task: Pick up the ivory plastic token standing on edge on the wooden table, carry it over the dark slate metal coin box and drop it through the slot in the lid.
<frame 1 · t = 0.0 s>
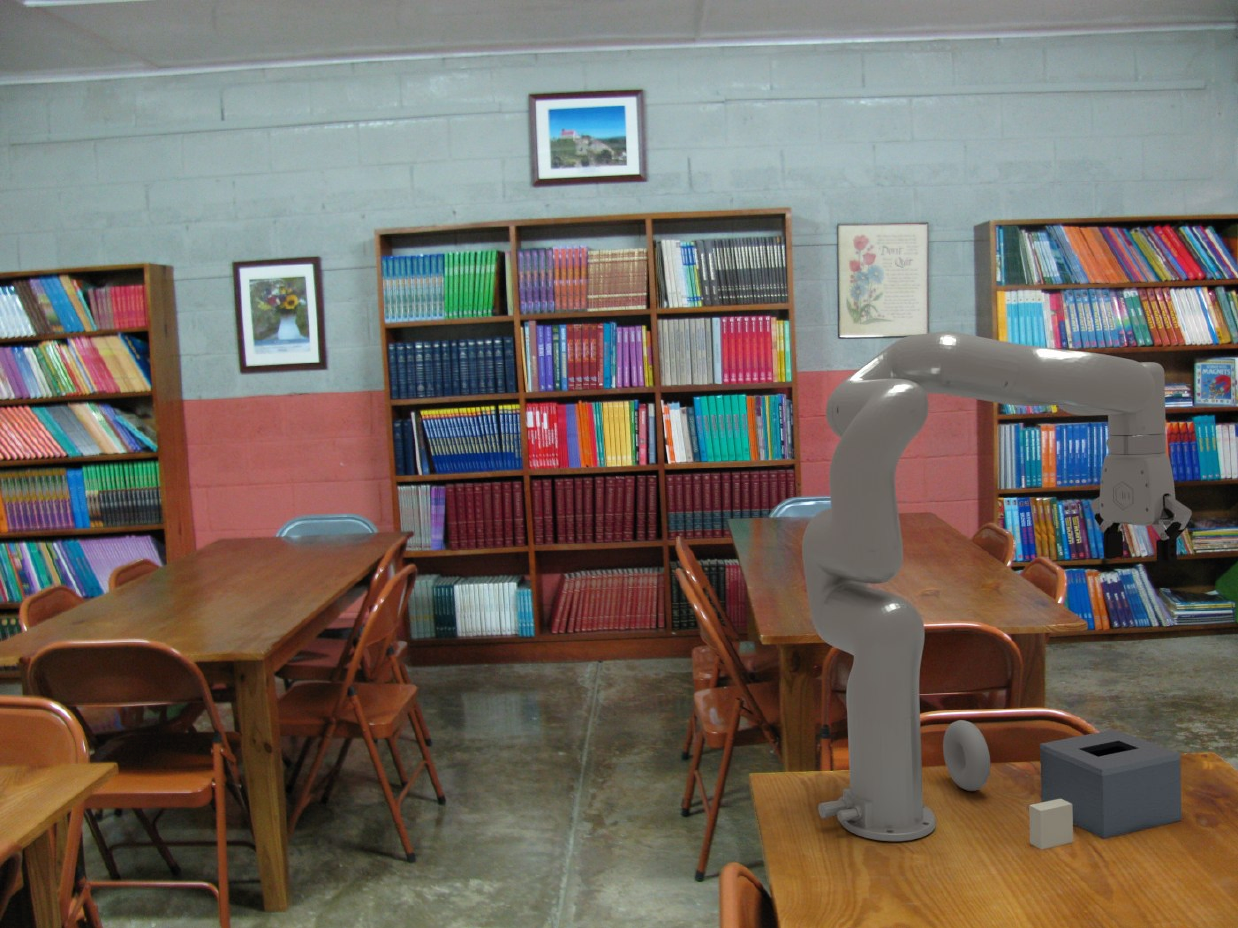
hand: (1139, 561, 150), 31 cm above the table, tool pointing down, fingers open, 9 cm apart
coin box: (1110, 813, 136), on the table
token: (1051, 842, 129), on the table
donut: (967, 790, 148), on the table
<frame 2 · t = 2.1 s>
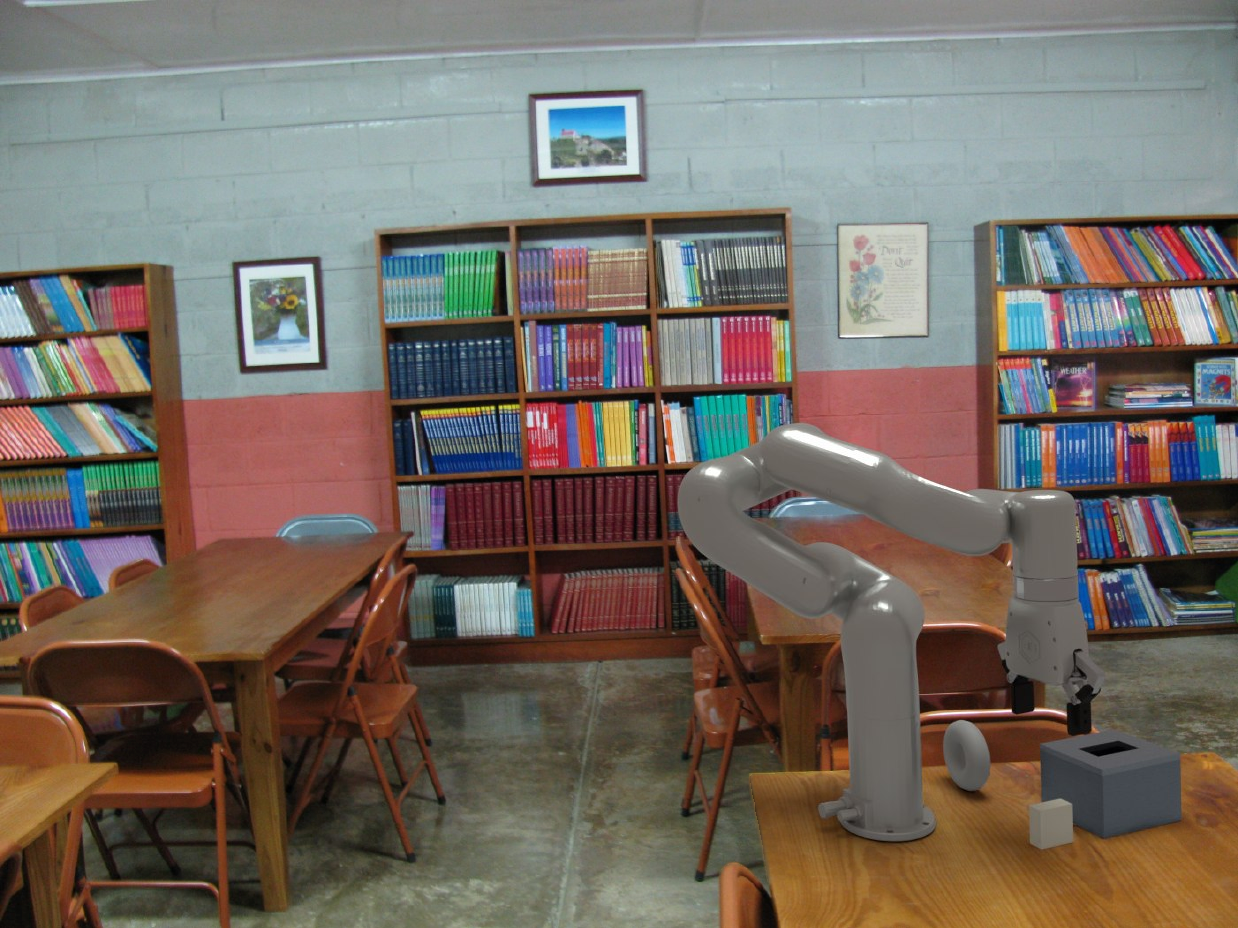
hand: (1050, 722, 128), 16 cm above the table, tool pointing down, fingers open, 9 cm apart
nothing on the table moved.
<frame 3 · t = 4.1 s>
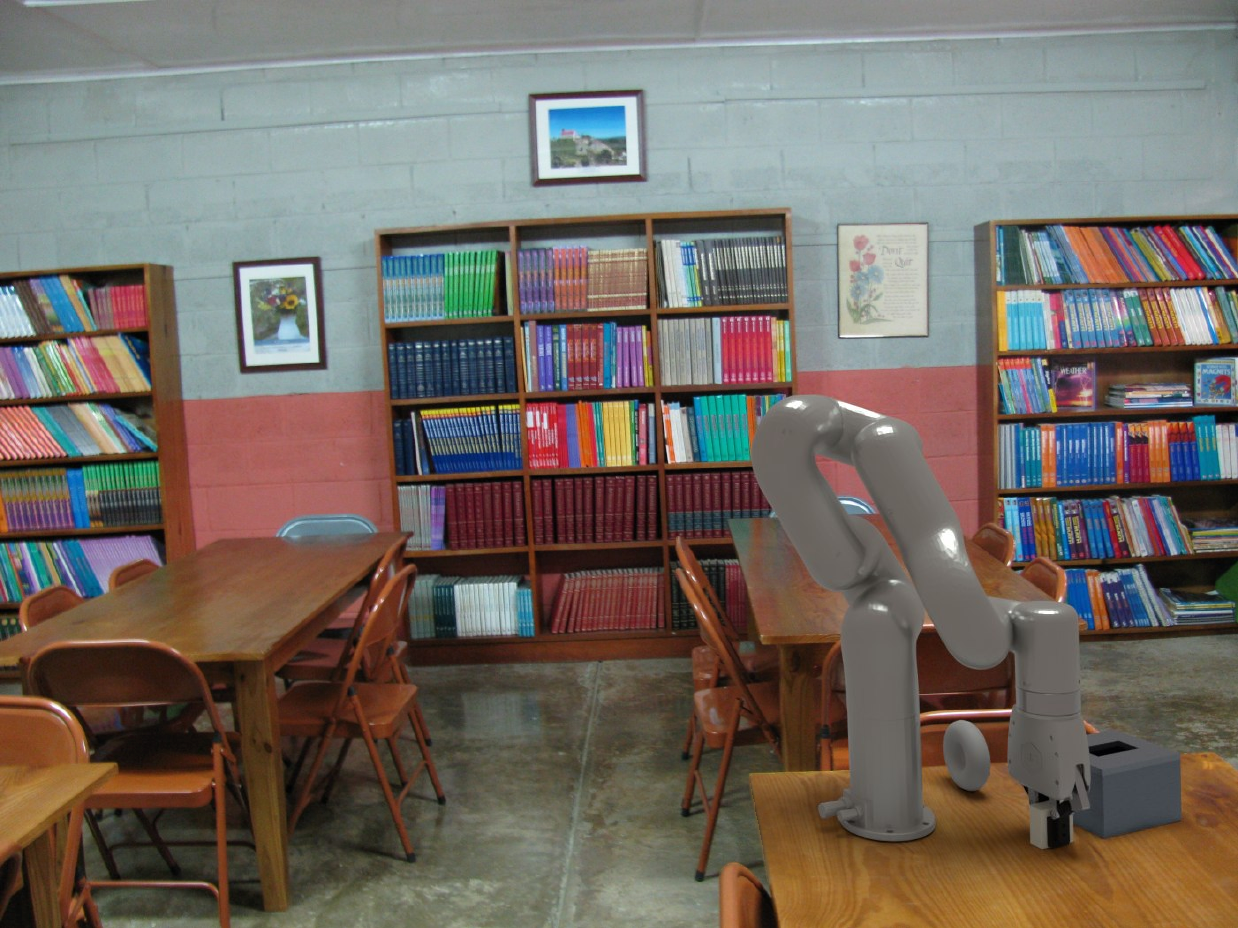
hand: (1051, 841, 129), 0 cm above the table, tool pointing down, fingers closed on token
token: (1051, 842, 129), on the table, touching gripper
everything else where it was.
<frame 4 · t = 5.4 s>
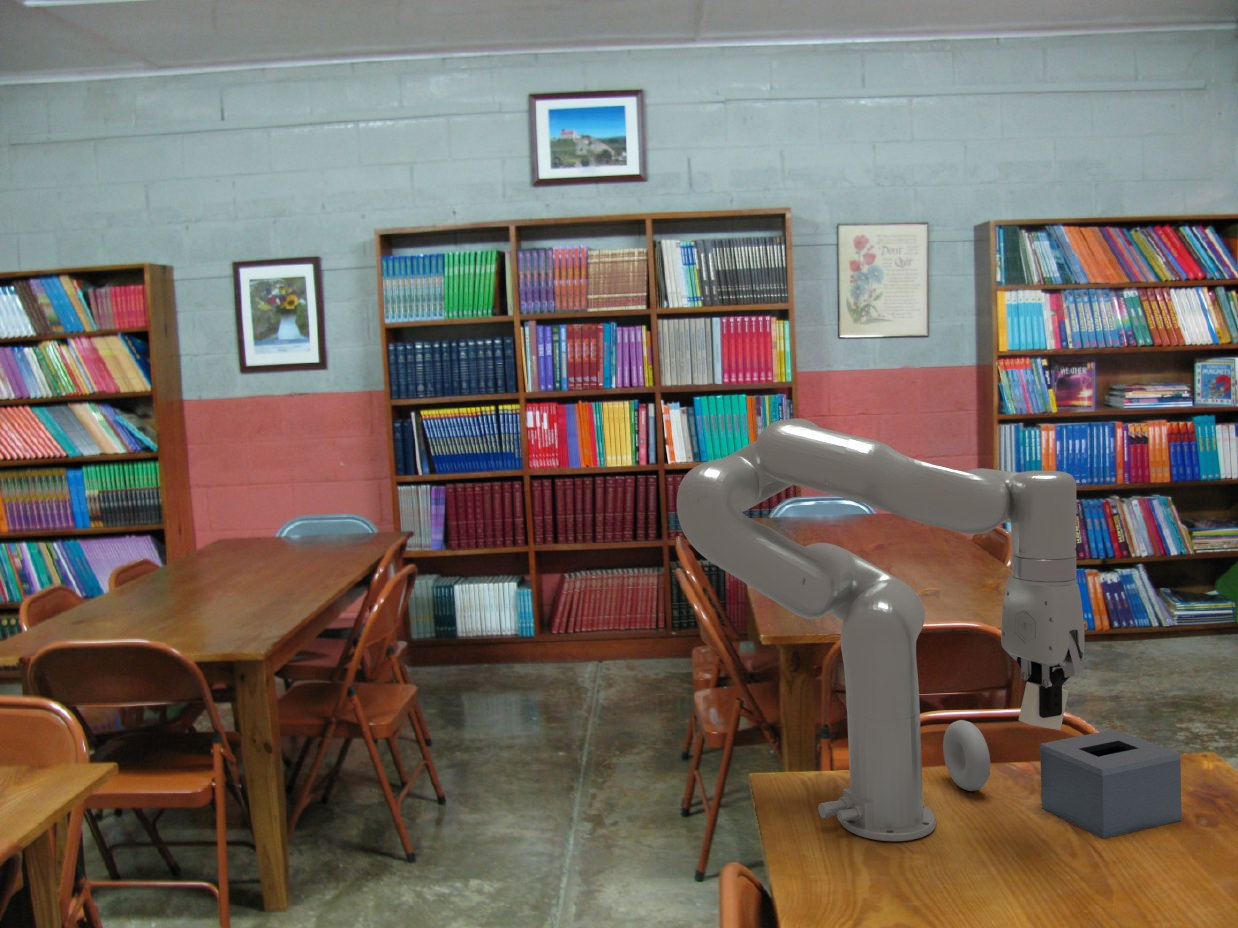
hand: (1043, 712, 128), 17 cm above the table, tool pointing down, fingers closed on token, 1 cm apart
token: (1039, 725, 128), point 15 cm above the table, tilted 17°, touching gripper
everything else where it was.
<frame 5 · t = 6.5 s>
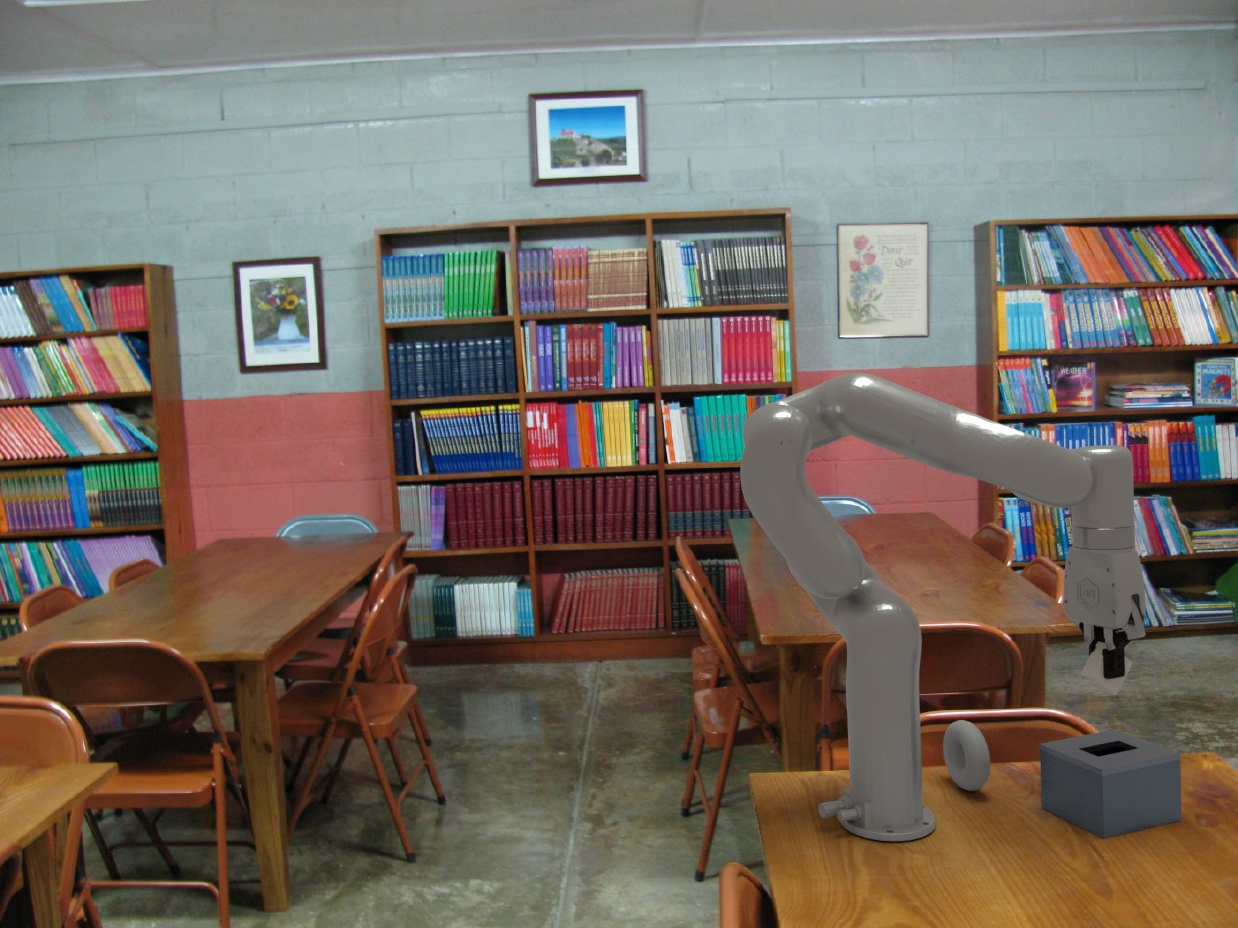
hand: (1107, 674, 135), 19 cm above the table, tool pointing down, fingers closed on token, 1 cm apart
token: (1098, 684, 135), point 18 cm above the table, tilted 37°, touching gripper
everything else where it was.
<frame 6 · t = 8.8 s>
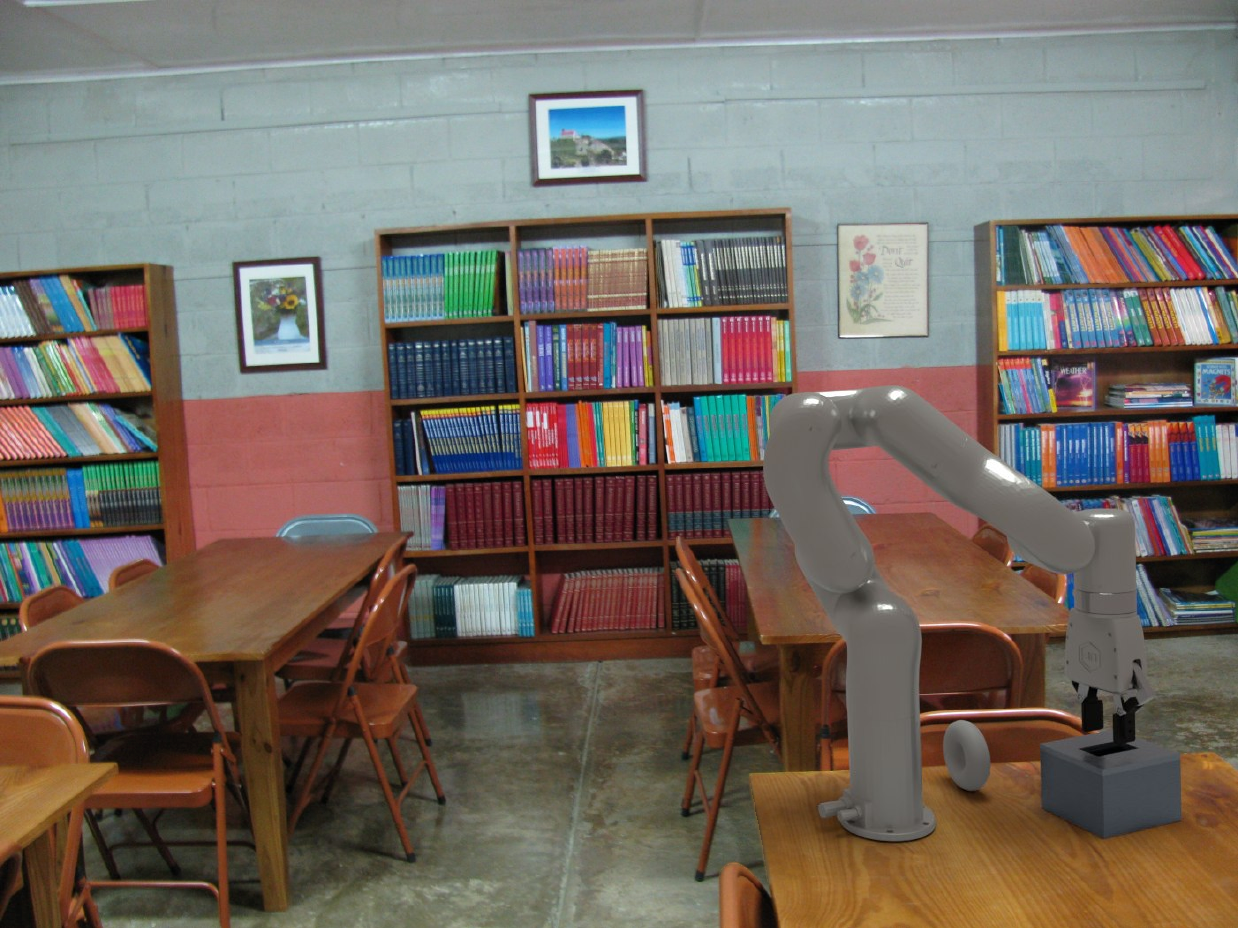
hand: (1108, 734, 136), 11 cm above the table, tool pointing down, fingers open, 4 cm apart
token: (1117, 806, 137), point 1 cm above the table, touching coin box
everything else where it was.
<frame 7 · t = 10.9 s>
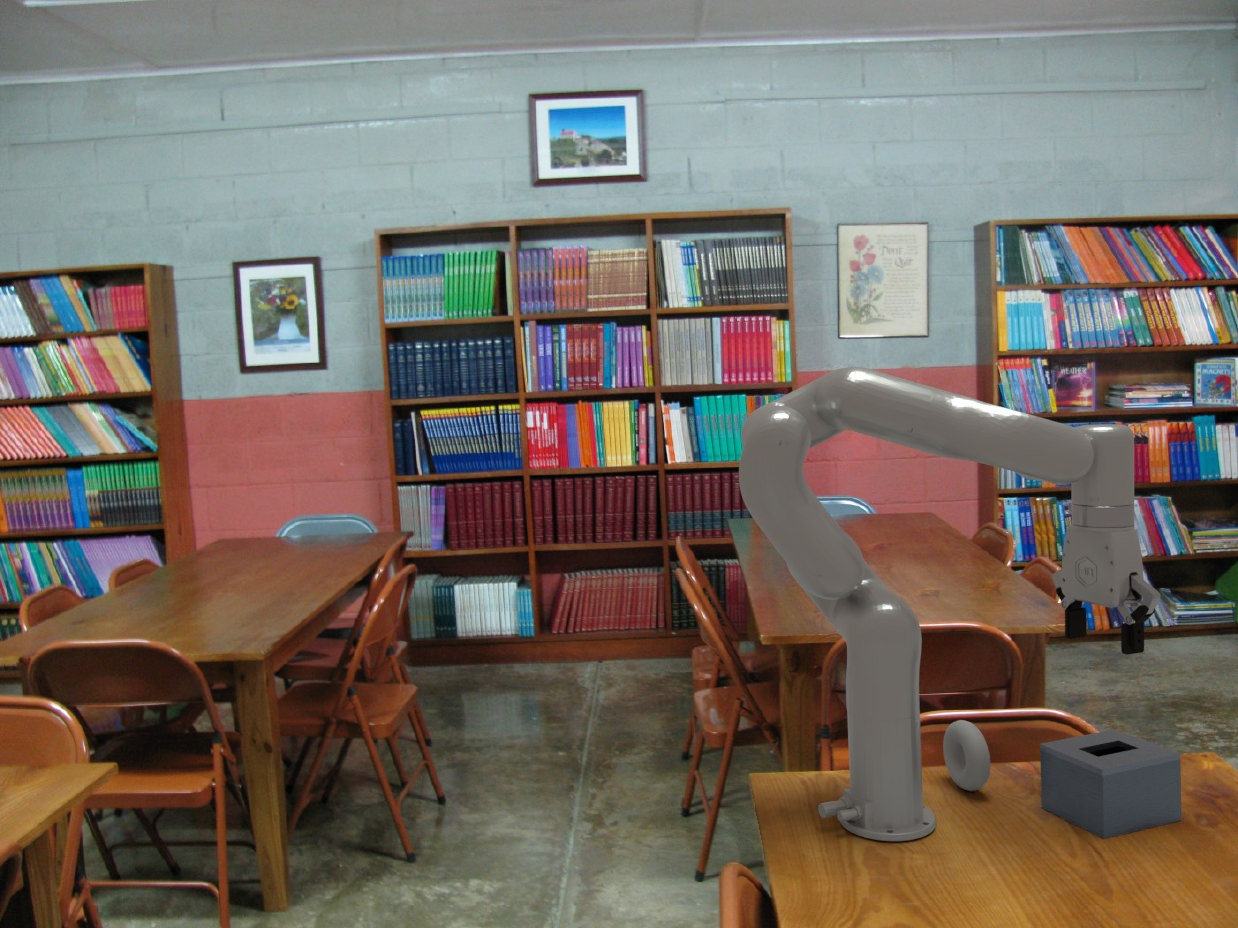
hand: (1103, 644, 135), 23 cm above the table, tool pointing down, fingers open, 9 cm apart
nothing on the table moved.
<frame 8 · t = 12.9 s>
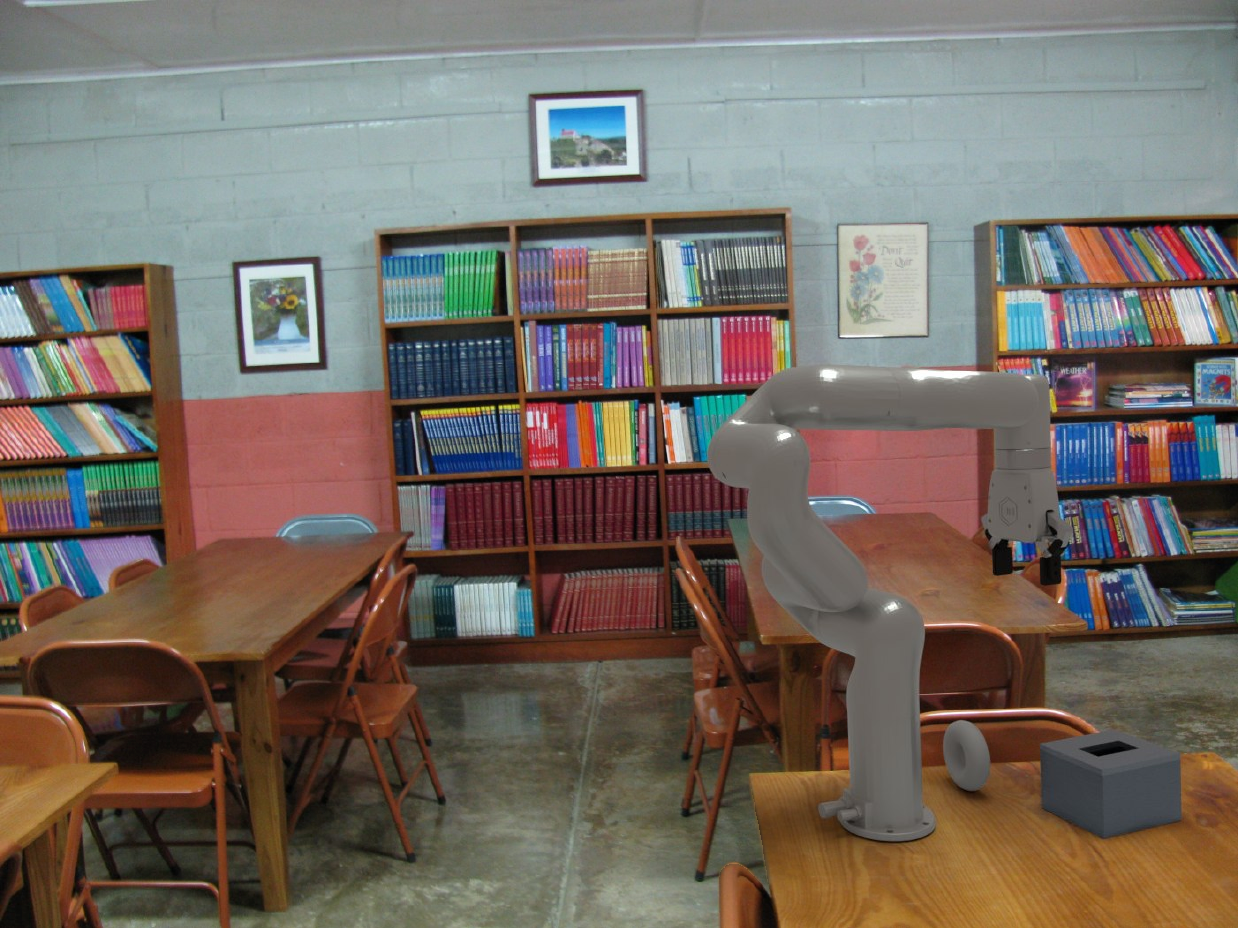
hand: (1026, 579, 146), 30 cm above the table, tool pointing down, fingers open, 9 cm apart
nothing on the table moved.
at the end: token inside the target area on the coin box (1.3 cm from its centre), point 0.8 cm above the coin box's base; the gripper is holding nothing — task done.
